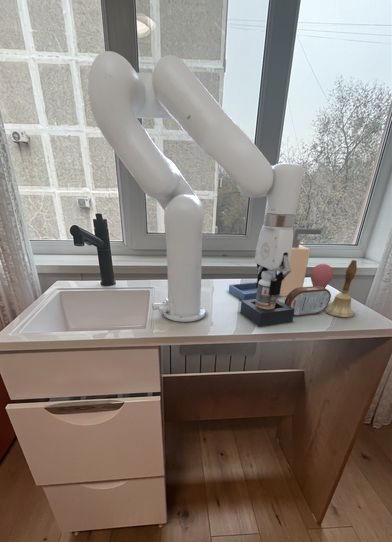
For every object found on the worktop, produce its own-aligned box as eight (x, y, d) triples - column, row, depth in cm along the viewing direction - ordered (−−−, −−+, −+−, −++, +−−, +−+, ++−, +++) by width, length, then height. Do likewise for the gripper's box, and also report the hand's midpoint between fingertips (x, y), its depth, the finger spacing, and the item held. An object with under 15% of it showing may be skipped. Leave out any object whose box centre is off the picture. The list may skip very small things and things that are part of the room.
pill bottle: (274, 311, 80) (280, 276, 75) (253, 308, 82) (258, 274, 77) (275, 305, 85) (281, 271, 80) (256, 302, 86) (261, 269, 82)
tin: (321, 309, 91) (328, 284, 87) (328, 313, 89) (335, 286, 85) (281, 314, 87) (286, 287, 83) (287, 318, 84) (292, 291, 80)
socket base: (259, 327, 79) (261, 313, 77) (240, 312, 88) (241, 300, 86) (292, 322, 82) (294, 309, 80) (270, 308, 91) (272, 296, 89)
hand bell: (330, 306, 95) (343, 256, 87) (357, 312, 90) (373, 260, 82) (320, 312, 89) (333, 260, 82) (348, 320, 84) (365, 265, 77)
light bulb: (309, 294, 105) (316, 260, 100) (329, 298, 102) (338, 263, 96) (303, 299, 100) (310, 264, 94) (324, 303, 97) (333, 267, 91)
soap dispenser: (278, 295, 103) (289, 230, 92) (270, 288, 110) (280, 227, 100) (312, 295, 104) (327, 230, 93) (302, 288, 111) (315, 227, 101)
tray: (243, 301, 97) (244, 294, 96) (228, 291, 106) (229, 284, 105) (279, 297, 102) (280, 290, 100) (261, 288, 111) (262, 281, 110)
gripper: (248, 218, 78) (241, 283, 87) (287, 225, 64) (273, 302, 73) (271, 218, 81) (262, 281, 89) (314, 225, 67) (297, 299, 75)
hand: (267, 290), depth 81 cm, fingers closed on pill bottle, 5 cm apart
